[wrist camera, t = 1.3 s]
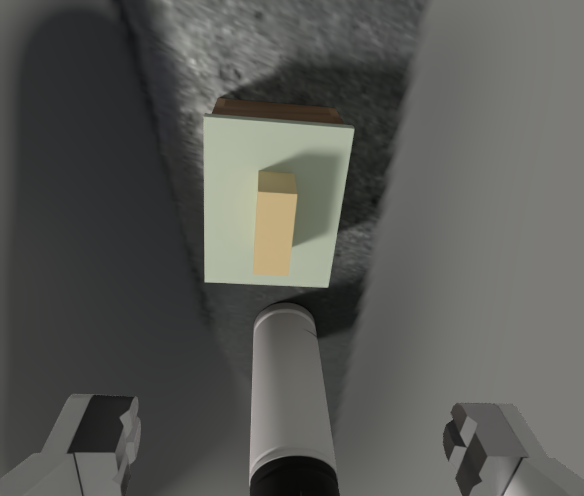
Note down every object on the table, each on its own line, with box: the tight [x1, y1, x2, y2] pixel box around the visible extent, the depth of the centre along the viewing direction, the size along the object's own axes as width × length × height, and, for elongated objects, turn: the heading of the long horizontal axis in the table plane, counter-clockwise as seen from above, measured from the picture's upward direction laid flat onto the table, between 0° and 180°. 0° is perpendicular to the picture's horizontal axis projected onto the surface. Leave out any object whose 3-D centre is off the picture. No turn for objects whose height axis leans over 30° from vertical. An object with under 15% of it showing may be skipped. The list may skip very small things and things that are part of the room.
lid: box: [204, 113, 354, 288], centre depth 30 cm, size 13×10×5 cm
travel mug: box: [249, 303, 340, 496], centre depth 37 cm, size 6×7×20 cm
